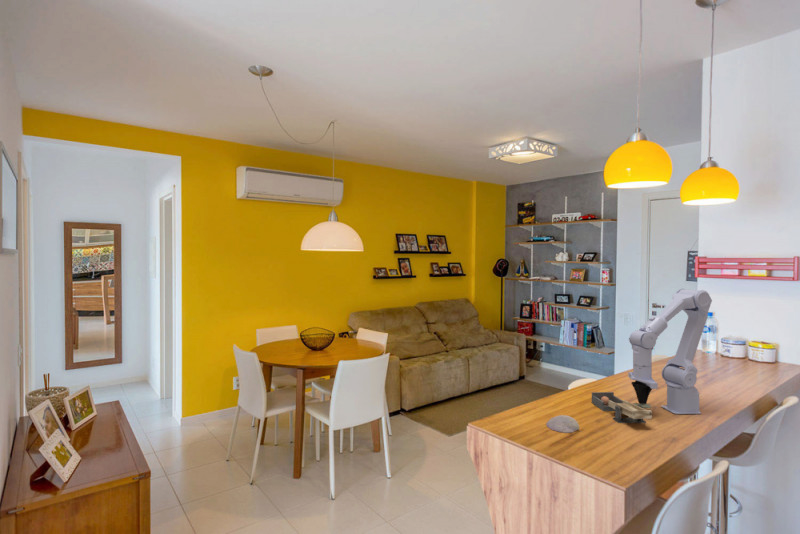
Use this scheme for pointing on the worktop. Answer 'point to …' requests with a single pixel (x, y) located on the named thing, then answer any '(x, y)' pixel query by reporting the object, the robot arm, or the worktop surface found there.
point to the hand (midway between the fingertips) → (642, 403)
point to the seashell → (563, 424)
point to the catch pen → (599, 403)
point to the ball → (605, 400)
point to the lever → (633, 409)
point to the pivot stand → (626, 419)
